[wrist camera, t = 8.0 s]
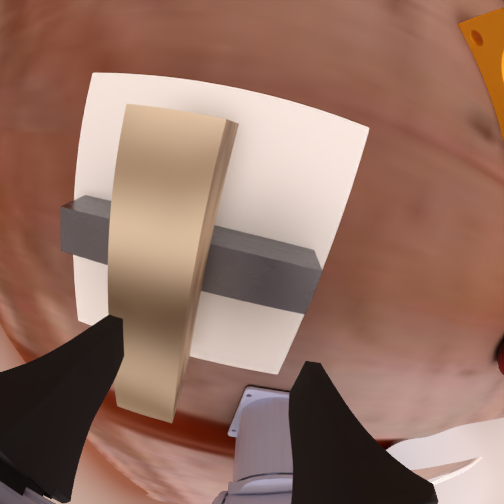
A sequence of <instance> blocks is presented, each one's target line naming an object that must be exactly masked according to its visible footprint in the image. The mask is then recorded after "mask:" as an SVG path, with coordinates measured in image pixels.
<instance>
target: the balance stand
mask: <svg viewBox="0 0 504 504" xmlns="http://www.w3.org/2000/svg"><path fill="white" fill-rule="evenodd" d="M127 104H135V105H144V106H152V107H159V108H167V109H173V110H180V111H186V112H192V113H197V114H203V115H208V116H213V117H218V118H223V119H227V120H230V121H233V122H236V123H238V124H239V125H238V129H237V133H236V137H235V141H234V145H233V149H232V153H231V157H230V161H229V165H228V169H227V173H226V178H225V182H224V186H223V190H222V195H221V199H220V204H219V208H218V212H217V217H216V221H215V226H214V231H213V235H212V240H211V245H210V249H209V254H208V259H207V264H206V269H205V274H204V279H203V284H202V289H201V294H200V300H199V305H198V310H197V316H196V321H195V327H194V332H193V338H192V344H191V350H190V355H189V356H191V357H195V358H199V359H203V360H207V361H212V362H216V363H220V364H225V365H229V366H234V367H239V368H244V369H249V370H254V371H260V372H265V373H271V374H277V375H278V373H279V370H280V368H281V366H282V364H283V362H284V360H285V357H286V355H287V353H288V351H289V349H290V346H291V344H292V342H293V340H294V337H295V335H296V333H297V330H298V328H299V326H300V323H301V321H302V319H303V316H304V314H306V311H307V309H308V307H309V304H310V302H311V299H312V297H313V294H314V292H315V289H316V287H317V284H318V282H319V279H320V277H321V274H322V272H323V271H322V269H323V267H324V264H325V261H326V259H327V256H328V253H329V251H330V248H331V245H332V243H333V240H334V237H335V234H336V232H337V229H338V226H339V223H340V220H341V217H342V215H343V212H344V209H345V206H346V203H347V200H348V197H349V194H350V191H351V188H352V185H353V182H354V178H355V175H356V172H357V169H358V166H359V162H360V159H361V156H362V152H363V149H364V146H365V142H366V139H367V135H368V132H369V128H368V127H366V126H363V125H361V124H358V123H356V122H353V121H350V120H348V119H345V118H342V117H339V116H336V115H333V114H331V113H328V112H325V111H322V110H318V109H315V108H312V107H309V106H306V105H302V104H299V103H295V102H292V101H288V100H285V99H281V98H277V97H273V96H269V95H265V94H261V93H257V92H253V91H248V90H244V89H239V88H234V87H229V86H224V85H219V84H213V83H207V82H201V81H194V80H187V79H180V78H172V77H163V76H152V75H140V74H122V73H93V74H92V78H91V83H90V87H89V91H88V96H87V101H86V106H85V111H84V116H83V122H82V128H81V135H80V142H79V149H78V157H77V167H76V178H75V191H74V201H72V202H69V203H67V204H65V205H63V206H61V251H64V252H67V253H70V254H73V258H74V279H75V293H76V304H77V313H78V321H81V322H83V323H86V324H89V325H91V326H93V325H94V324H96V323H97V322H99V321H100V320H102V319H103V318H105V317H106V316H108V244H109V226H110V212H111V201H112V191H113V182H114V174H115V166H116V159H117V153H118V146H119V140H120V135H121V129H122V124H123V119H124V114H125V109H126V105H127Z"/></svg>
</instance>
